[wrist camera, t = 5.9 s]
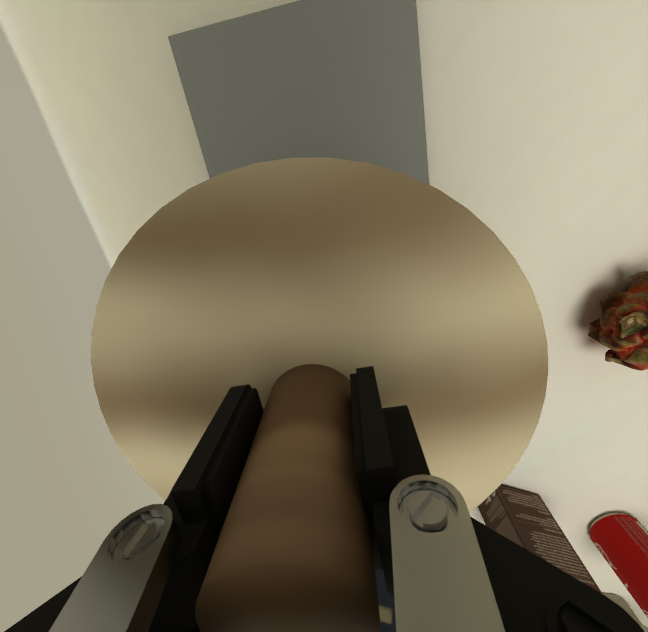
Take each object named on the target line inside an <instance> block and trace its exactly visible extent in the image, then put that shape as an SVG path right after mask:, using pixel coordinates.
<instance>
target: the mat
mask: <svg viewBox="0 0 648 632" xmlns="http://www.w3.org/2000/svg"><path fill="white" fill-rule="evenodd" d="M168 38H169V41H170V44H171V48H172V51H173V55H174V58H175V61H176V65H177V68H178V72H179V75H180V78H181V82H182V85H183V88H184V92H185V95H186V99H187V102H188V105H189V109H190V112H191V116H192V119H193V122H194V126H195V129H196V132H197V136H198V139H199V143H200V146H201V149H202V153H203V156H204V159H205V163H206V166H207V170H208V173H209V176H210V179H211V178H213V177H215V176H217V175H219V174H222V173H225V172H228V171H231V170H235V169H238V168H241V167H245V166H248V165H251V164H254V163H260V162H266V161H273V160H280V159H287V158H337V159H344V160H351V161H358V162H365V163H370V164H373V165H377V166H380V167H383V168H387V169H390V170H394V171H397V172H400V173H404V174H406V175H408V176H410V177H413V178H415V179H417V180H419V181H421V182H423V183H425V184H428V185H429V176H428V162H427V148H426V134H425V120H424V107H423V93H422V79H421V65H420V51H419V37H418V23H417V9H416V0H300V1H296V2H292V3H289V4H285V5H281V6H278V7H274V8H271V9H267V10H263V11H260V12H256V13H252V14H249V15H245V16H241V17H238V18H234V19H230V20H227V21H223V22H220V23H216V24H212V25H209V26H205V27H201V28H198V29H194V30H190V31H187V32H183V33H180V34H176V35H172V36H169V37H168Z"/></svg>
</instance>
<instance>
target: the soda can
mask: <svg viewBox="0 0 648 632" xmlns="http://www.w3.org/2000/svg"><path fill="white" fill-rule="evenodd" d="M590 539H591V540H592V541H593V543H594V544H595V546H596V547H597V548H598V550H599V551H600V553H601V554H602V555H603V557H604V558H605V559H606V561H607V562H608V564H609V565H610V566H611V568H612V569H613V570H614V572H615V573H616V575H617V576H618V577H619V579H620V580H621V582H622V583H623V584H624V586H625V587H626V588H627V590H628V591H629V593H630V594H631V595H632V597H633V598H634V600H635V601H636V602H637V604H638V605H639V606H640V608H641V609H642V611H643V612H644V613H645V615H646V616H647V618H648V531H647V530H646V529H645V528H644V526H643V525H642V524H641V523H640V522H639V521H638V520H637V519H636V518H634V517H632V516H630V515H626V514H625V513H617V512H613V513H608V514H604V515H602V516H600V517H598V518H597V519H595V520H594V521H593V522H592V524H591V526H590Z"/></svg>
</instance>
